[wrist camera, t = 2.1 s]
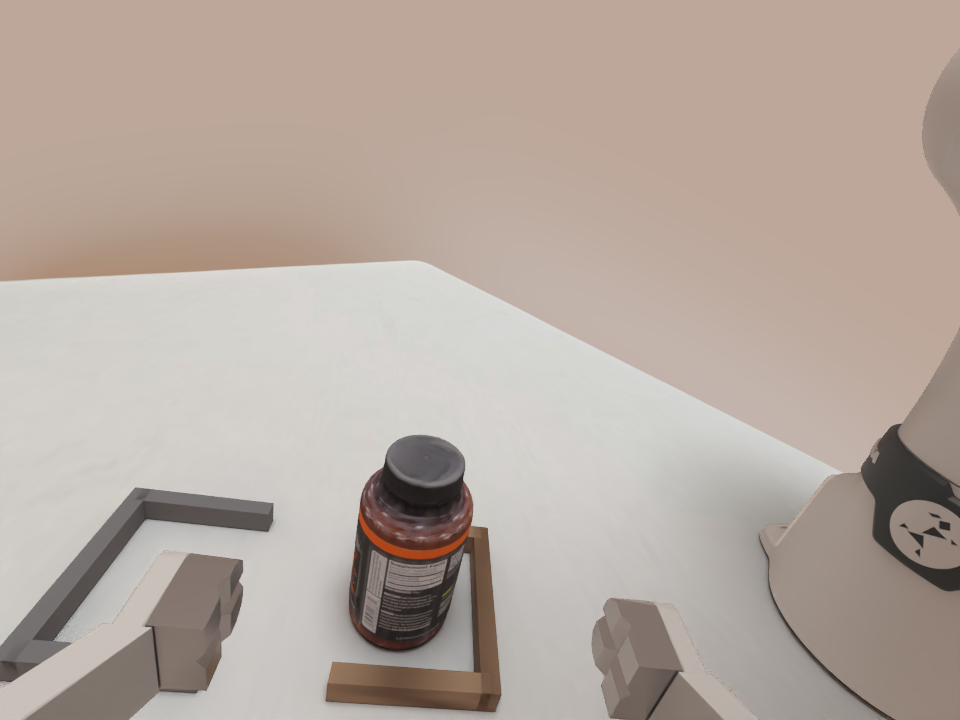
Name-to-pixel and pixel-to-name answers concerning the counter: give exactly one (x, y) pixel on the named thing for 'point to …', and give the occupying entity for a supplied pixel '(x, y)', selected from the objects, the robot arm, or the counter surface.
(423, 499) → the supplement bottle
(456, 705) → the walnut bay
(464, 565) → the counter surface
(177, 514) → the charcoal bay
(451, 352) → the counter surface
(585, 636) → the counter surface
